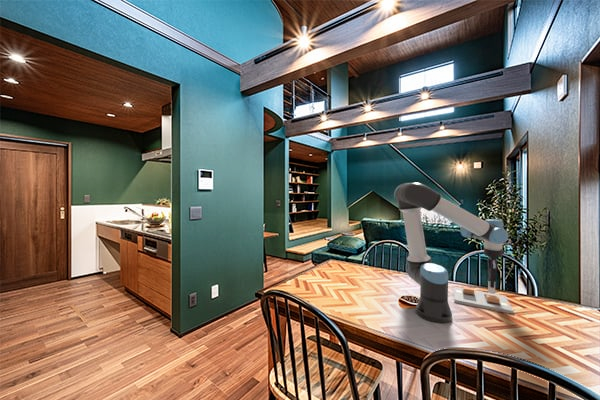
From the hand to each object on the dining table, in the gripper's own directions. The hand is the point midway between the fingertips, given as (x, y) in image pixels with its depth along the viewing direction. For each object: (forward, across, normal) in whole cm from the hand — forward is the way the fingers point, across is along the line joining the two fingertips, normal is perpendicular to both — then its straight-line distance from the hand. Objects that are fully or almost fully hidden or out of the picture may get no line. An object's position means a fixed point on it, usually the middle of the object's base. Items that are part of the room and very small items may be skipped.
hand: (491, 292), depth 127 cm
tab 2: (+4, -2, 0) cm, 4 cm away
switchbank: (+6, +1, +5) cm, 7 cm away
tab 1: (+4, +4, +10) cm, 11 cm away
